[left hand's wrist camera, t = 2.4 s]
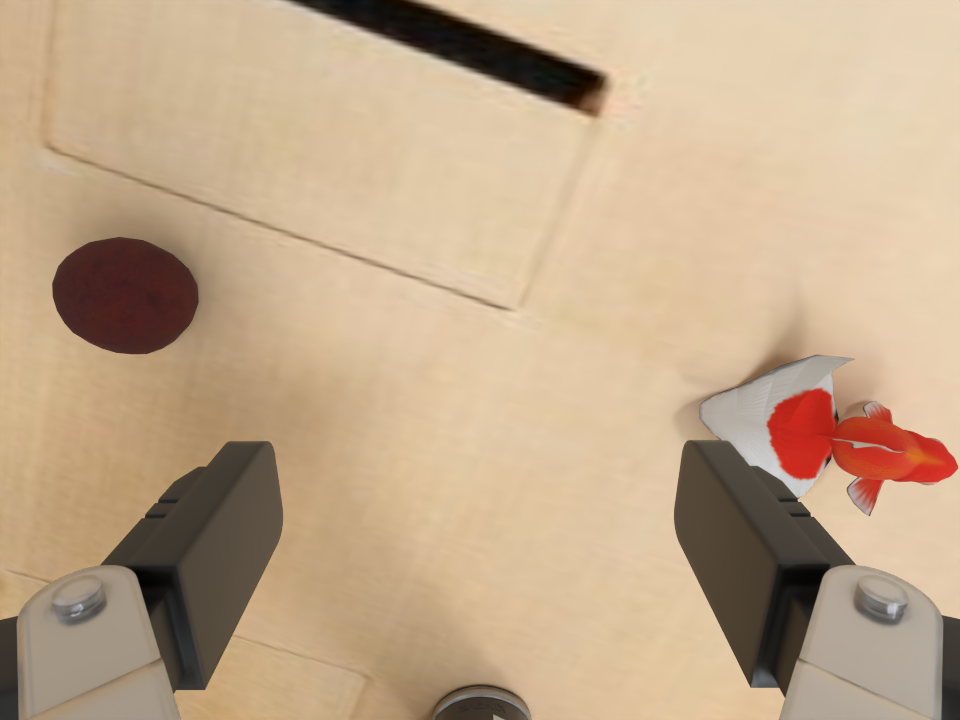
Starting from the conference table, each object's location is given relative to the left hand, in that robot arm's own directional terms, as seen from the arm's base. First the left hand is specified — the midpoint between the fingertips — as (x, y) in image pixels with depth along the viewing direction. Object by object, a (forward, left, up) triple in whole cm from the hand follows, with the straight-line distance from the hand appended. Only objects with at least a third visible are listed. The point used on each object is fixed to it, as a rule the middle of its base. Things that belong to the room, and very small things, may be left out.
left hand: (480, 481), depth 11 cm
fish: (-13, -23, -29) cm, 40 cm away
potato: (-3, +22, -29) cm, 37 cm away
